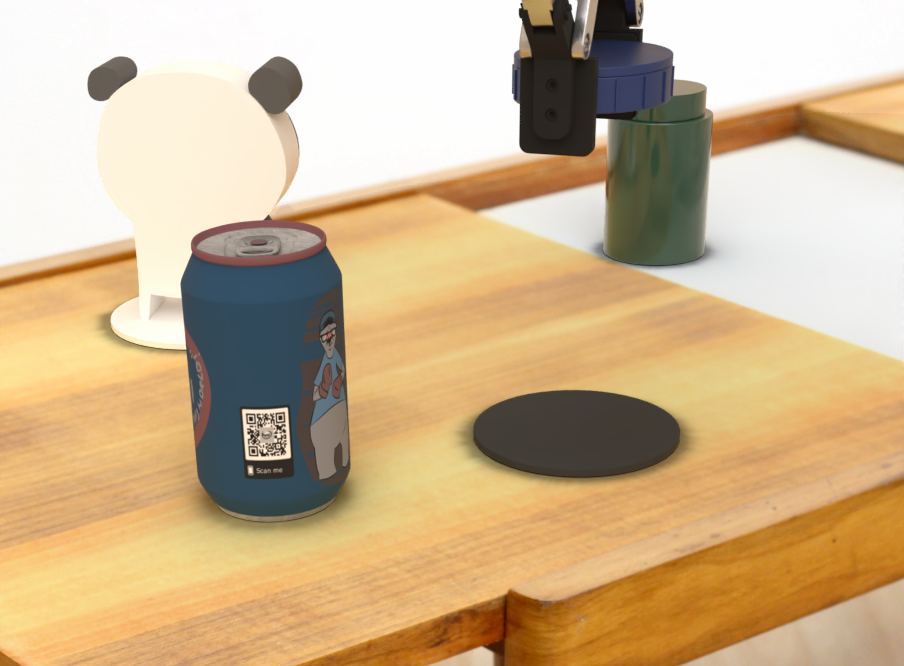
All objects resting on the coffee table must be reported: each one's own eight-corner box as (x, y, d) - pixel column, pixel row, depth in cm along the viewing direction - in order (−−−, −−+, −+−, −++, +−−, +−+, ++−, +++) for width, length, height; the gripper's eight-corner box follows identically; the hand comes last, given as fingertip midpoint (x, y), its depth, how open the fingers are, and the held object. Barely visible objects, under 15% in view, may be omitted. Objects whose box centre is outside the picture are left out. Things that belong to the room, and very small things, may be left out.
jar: (684, 233, 106) (694, 74, 101) (718, 261, 100) (730, 93, 95) (591, 241, 105) (596, 81, 100) (620, 269, 99) (626, 100, 95)
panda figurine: (325, 290, 98) (314, 43, 91) (288, 352, 88) (272, 80, 81) (142, 287, 100) (117, 45, 93) (85, 347, 90) (53, 81, 83)
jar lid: (541, 78, 72) (542, 36, 72) (688, 86, 70) (690, 42, 69) (490, 109, 67) (490, 63, 66) (648, 118, 64) (650, 71, 63)
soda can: (207, 466, 74) (184, 218, 69) (352, 461, 74) (341, 212, 68) (192, 531, 68) (167, 264, 62) (351, 526, 68) (339, 258, 62)
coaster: (646, 390, 81) (646, 382, 81) (707, 467, 72) (708, 459, 72) (456, 405, 80) (456, 398, 80) (495, 485, 71) (495, 477, 71)
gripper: (566, -312, 70) (555, 94, 78) (429, -324, 55) (434, 174, 63) (734, -320, 67) (705, 101, 75) (636, -335, 53) (613, 187, 61)
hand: (581, 131), depth 69 cm, fingers closed on jar lid, 6 cm apart
